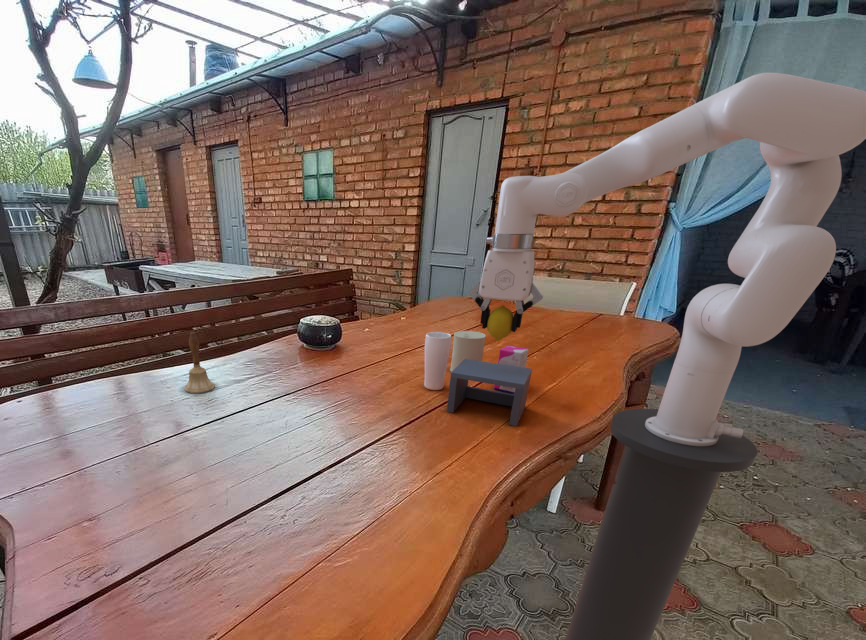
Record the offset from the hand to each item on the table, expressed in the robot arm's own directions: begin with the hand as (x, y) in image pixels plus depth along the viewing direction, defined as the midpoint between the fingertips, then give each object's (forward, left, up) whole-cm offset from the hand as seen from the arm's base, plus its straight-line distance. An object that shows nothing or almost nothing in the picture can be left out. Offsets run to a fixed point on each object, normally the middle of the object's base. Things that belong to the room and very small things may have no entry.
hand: (499, 328), depth 95 cm
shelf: (0, -1, -20) cm, 21 cm away
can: (+12, -27, -21) cm, 36 cm away
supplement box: (-2, -18, -21) cm, 27 cm away
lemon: (0, 0, -3) cm, 3 cm away
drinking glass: (+16, -9, -21) cm, 28 cm away
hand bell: (+73, +24, -21) cm, 80 cm away
